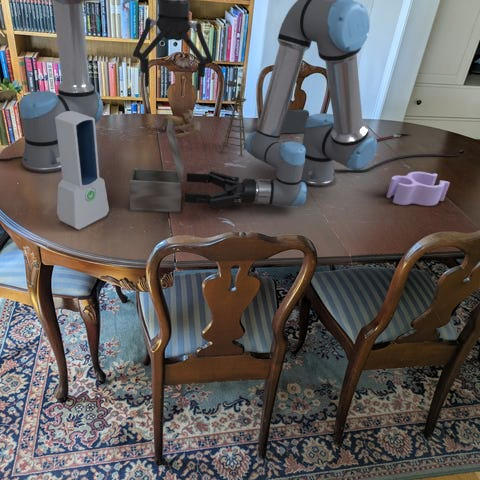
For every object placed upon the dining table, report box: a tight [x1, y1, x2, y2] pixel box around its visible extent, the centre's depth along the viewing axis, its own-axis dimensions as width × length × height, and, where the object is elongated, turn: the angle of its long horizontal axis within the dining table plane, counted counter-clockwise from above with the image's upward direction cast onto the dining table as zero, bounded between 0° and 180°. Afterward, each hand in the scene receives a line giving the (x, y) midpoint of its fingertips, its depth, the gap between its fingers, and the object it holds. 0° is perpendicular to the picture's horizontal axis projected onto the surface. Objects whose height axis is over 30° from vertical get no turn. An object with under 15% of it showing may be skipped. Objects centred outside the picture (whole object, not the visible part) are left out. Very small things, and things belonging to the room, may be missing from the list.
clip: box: [386, 171, 450, 207], centre depth 162 cm, size 20×12×7 cm, turn 109°
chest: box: [128, 167, 183, 213], centre depth 141 cm, size 15×9×10 cm, turn 94°
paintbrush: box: [375, 133, 409, 142], centre depth 213 cm, size 31×3×1 cm, turn 126°
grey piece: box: [166, 119, 201, 183], centre depth 134 cm, size 16×9×9 cm
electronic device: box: [55, 111, 110, 231], centre depth 124 cm, size 12×8×30 cm, turn 148°
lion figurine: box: [158, 109, 194, 133], centre depth 194 cm, size 15×5×9 cm, turn 110°
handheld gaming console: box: [258, 109, 310, 134], centre depth 205 cm, size 23×3×10 cm, turn 108°
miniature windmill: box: [221, 72, 247, 156], centre depth 177 cm, size 9×8×30 cm
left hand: (172, 87), depth 125 cm, fingers open, 13 cm apart
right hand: (185, 187), depth 141 cm, fingers open, 13 cm apart
